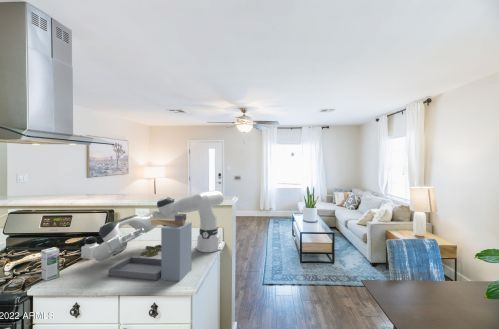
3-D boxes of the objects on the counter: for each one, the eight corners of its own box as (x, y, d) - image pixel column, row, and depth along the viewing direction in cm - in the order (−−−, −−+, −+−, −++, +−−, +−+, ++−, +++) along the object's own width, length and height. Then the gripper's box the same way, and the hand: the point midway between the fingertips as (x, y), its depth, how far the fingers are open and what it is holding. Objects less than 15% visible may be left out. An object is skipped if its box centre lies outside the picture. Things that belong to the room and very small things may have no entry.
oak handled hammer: (155, 222, 139) (155, 212, 139) (186, 224, 136) (186, 213, 136) (150, 224, 134) (150, 214, 134) (182, 226, 131) (182, 215, 131)
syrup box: (46, 281, 126) (46, 251, 126) (41, 278, 129) (41, 249, 129) (59, 276, 131) (59, 248, 131) (54, 274, 134) (54, 246, 134)
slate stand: (174, 268, 142) (174, 221, 142) (191, 269, 141) (191, 222, 140) (161, 279, 129) (161, 227, 128) (179, 281, 127) (180, 228, 126)
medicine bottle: (100, 255, 160) (100, 236, 160) (89, 259, 153) (89, 239, 153) (91, 254, 162) (91, 235, 162) (81, 258, 156) (81, 238, 156)
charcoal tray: (130, 262, 150) (130, 256, 150) (173, 266, 145) (173, 260, 145) (108, 276, 132) (108, 269, 132) (156, 281, 127) (156, 273, 127)
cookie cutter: (146, 247, 176) (146, 245, 176) (164, 247, 177) (164, 244, 177) (138, 257, 158) (138, 254, 158) (159, 257, 160) (159, 253, 160)
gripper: (132, 242, 151) (151, 231, 148) (107, 254, 130) (128, 242, 128) (127, 232, 151) (146, 222, 149) (101, 243, 131) (122, 231, 129)
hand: (137, 231), depth 138 cm, fingers open, 8 cm apart
